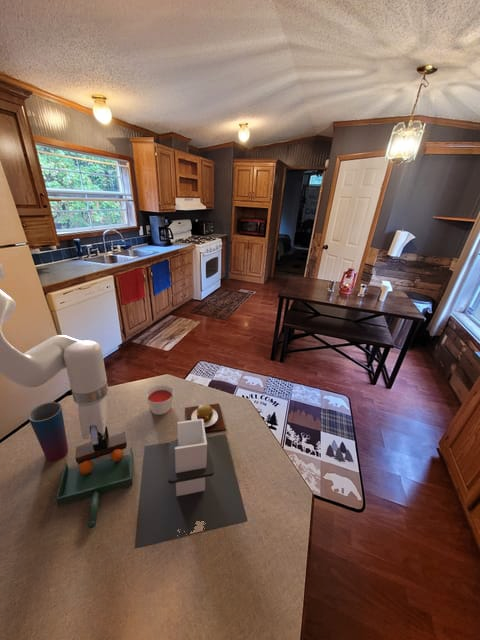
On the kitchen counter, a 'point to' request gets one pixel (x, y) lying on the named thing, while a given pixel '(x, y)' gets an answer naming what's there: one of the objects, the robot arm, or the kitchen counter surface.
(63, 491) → the dustpan
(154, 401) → the candle
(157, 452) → the candle holder
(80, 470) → the crumb
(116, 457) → the crumb
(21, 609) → the kitchen counter surface
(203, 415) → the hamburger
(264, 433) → the kitchen counter surface
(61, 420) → the cup
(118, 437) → the brush
